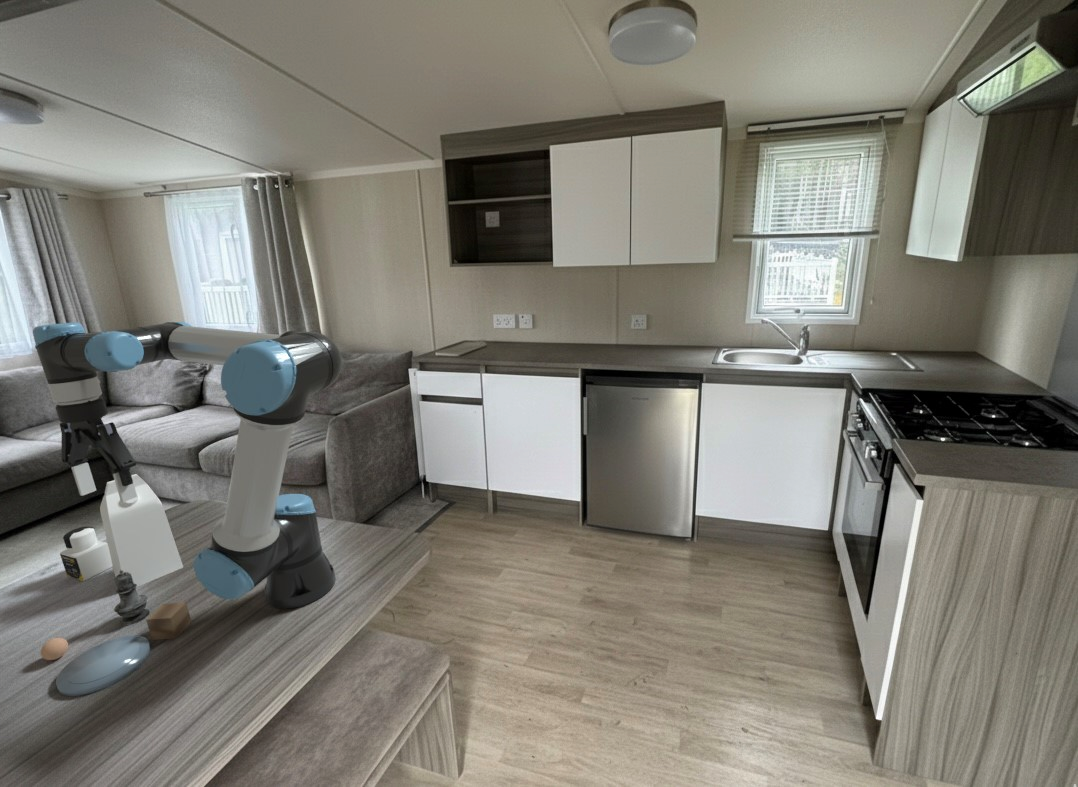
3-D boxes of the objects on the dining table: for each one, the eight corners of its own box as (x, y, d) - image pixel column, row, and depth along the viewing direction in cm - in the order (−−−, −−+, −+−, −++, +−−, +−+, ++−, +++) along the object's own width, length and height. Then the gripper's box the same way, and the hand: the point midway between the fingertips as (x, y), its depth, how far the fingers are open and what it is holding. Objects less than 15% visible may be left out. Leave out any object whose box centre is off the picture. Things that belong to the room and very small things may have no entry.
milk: (169, 553, 139) (145, 465, 132) (183, 567, 132) (158, 475, 125) (114, 575, 130) (86, 482, 123) (126, 591, 123) (96, 493, 116)
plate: (166, 647, 103) (165, 641, 102) (89, 703, 90) (87, 697, 90) (120, 635, 107) (118, 629, 107) (39, 686, 95) (37, 680, 94)
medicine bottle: (66, 577, 130) (52, 535, 127) (98, 561, 137) (86, 521, 134) (83, 582, 128) (69, 539, 125) (114, 566, 134) (102, 525, 131)
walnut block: (191, 622, 110) (186, 602, 109) (176, 638, 105) (170, 618, 104) (168, 623, 110) (162, 603, 109) (152, 640, 105) (146, 619, 104)
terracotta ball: (75, 651, 103) (69, 635, 102) (51, 666, 100) (45, 649, 98) (62, 648, 104) (57, 631, 103) (39, 662, 101) (33, 645, 100)
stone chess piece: (133, 627, 109) (118, 579, 106) (111, 625, 111) (96, 577, 108) (158, 609, 115) (144, 563, 112) (137, 607, 116) (123, 561, 113)
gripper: (139, 397, 101) (165, 493, 107) (64, 393, 110) (91, 483, 115) (97, 407, 95) (127, 510, 100) (20, 403, 103) (51, 497, 109)
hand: (108, 496), depth 108 cm, fingers open, 13 cm apart
